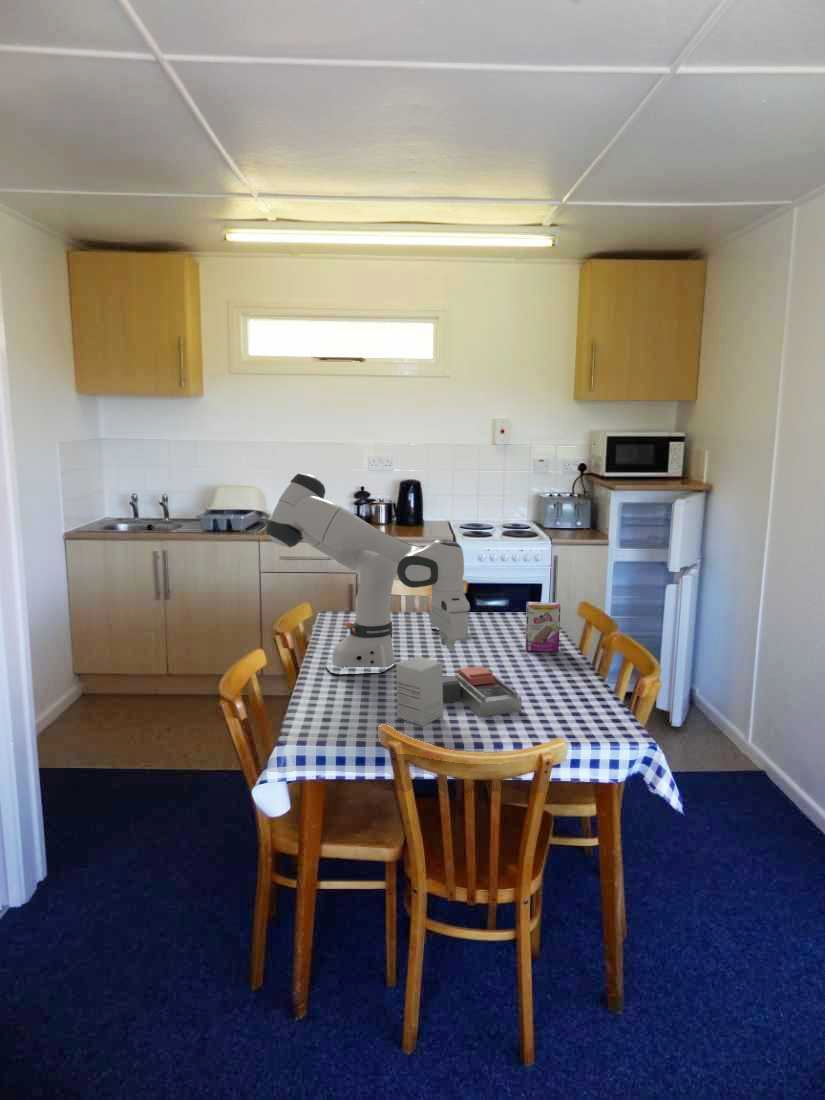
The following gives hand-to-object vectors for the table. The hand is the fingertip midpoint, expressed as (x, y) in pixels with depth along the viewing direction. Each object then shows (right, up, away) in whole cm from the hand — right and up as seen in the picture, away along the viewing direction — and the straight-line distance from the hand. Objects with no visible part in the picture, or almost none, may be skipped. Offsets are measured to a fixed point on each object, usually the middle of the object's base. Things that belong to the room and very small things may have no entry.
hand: (447, 647), depth 210 cm
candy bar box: (+34, -7, +47) cm, 58 cm away
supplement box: (-8, -17, -10) cm, 22 cm away
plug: (0, -15, +2) cm, 15 cm away
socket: (+10, -15, +1) cm, 18 cm away
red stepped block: (+9, -10, +6) cm, 14 cm away
